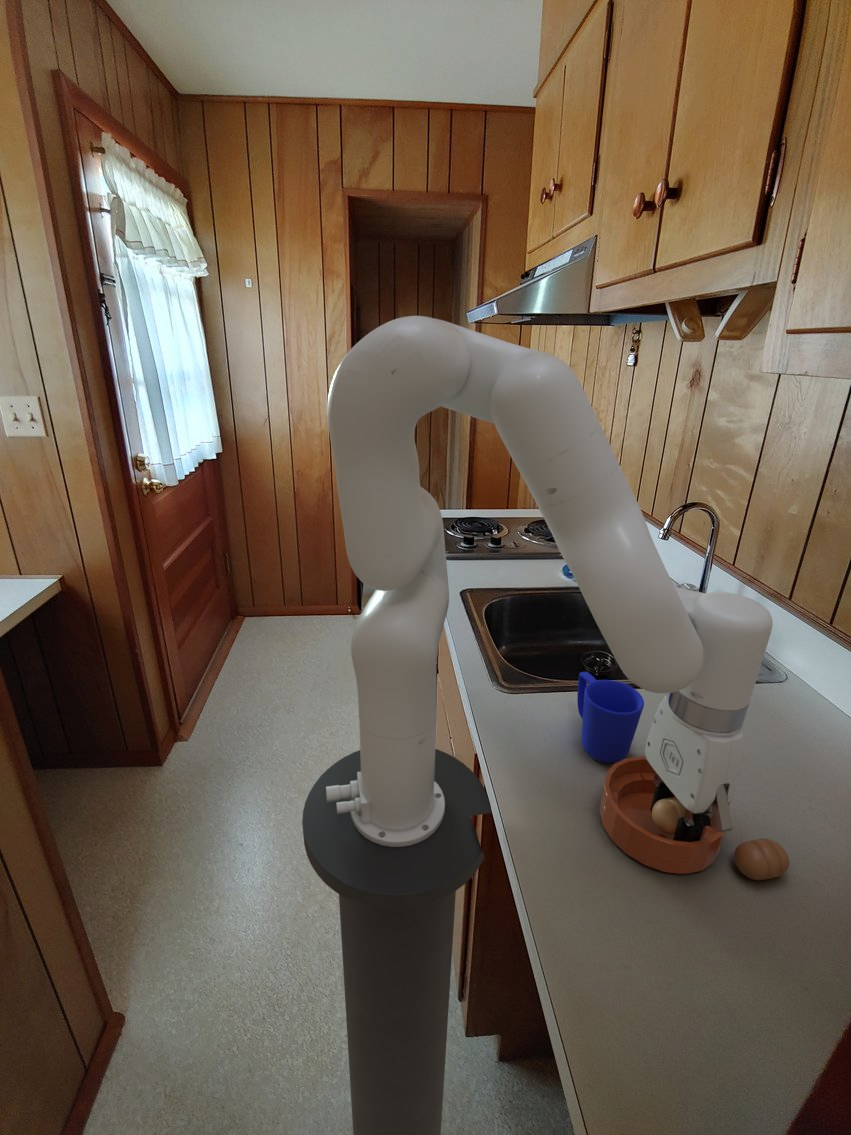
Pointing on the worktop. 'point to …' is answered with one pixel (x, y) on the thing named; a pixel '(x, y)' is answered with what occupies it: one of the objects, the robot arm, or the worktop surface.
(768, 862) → the egg dark
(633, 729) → the mug
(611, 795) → the bowl
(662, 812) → the egg light
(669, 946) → the worktop surface
